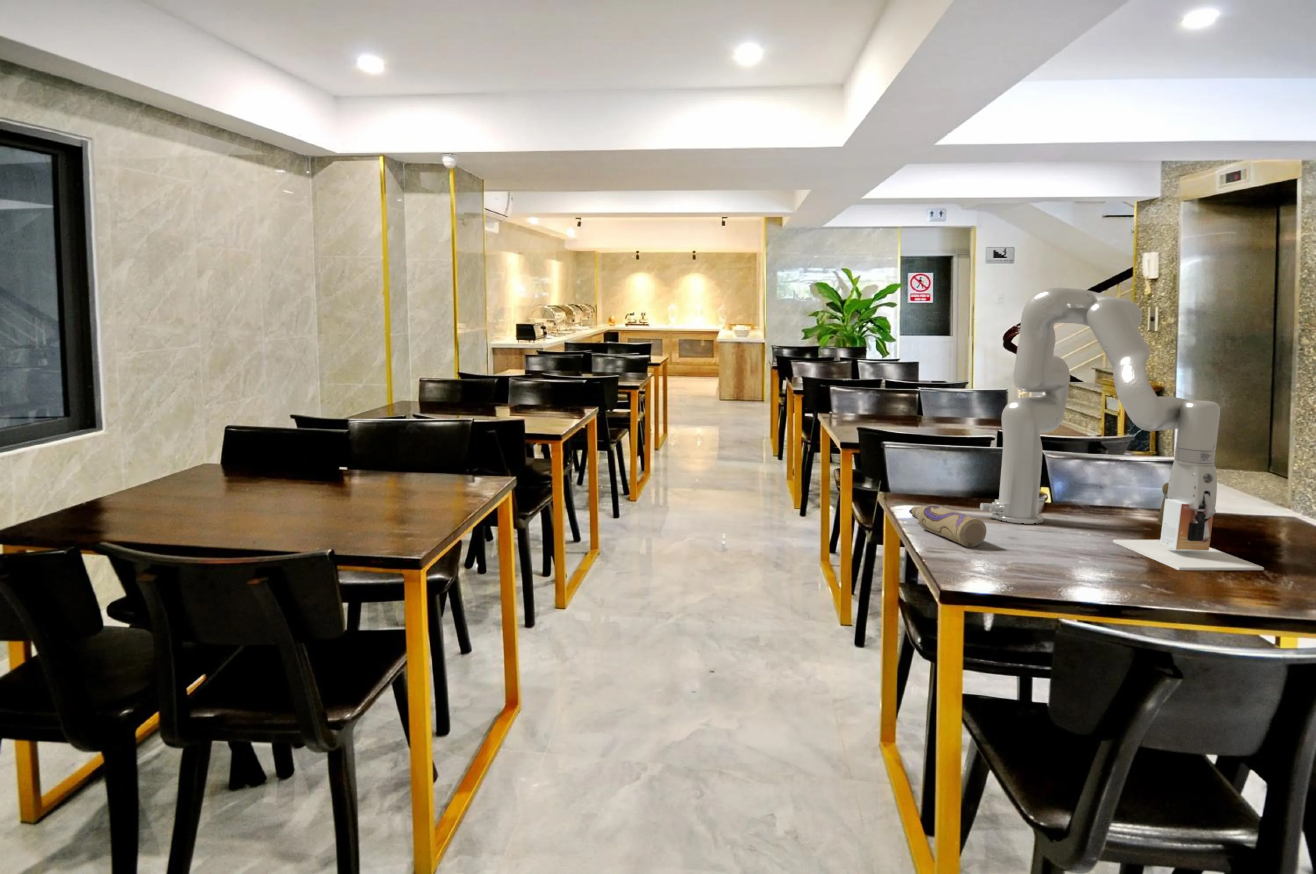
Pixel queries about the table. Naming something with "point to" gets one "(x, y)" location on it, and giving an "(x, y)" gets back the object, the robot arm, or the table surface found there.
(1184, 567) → the mat
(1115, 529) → the table surface
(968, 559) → the table surface
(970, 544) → the decorative bottle
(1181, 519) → the small box
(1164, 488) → the cork
